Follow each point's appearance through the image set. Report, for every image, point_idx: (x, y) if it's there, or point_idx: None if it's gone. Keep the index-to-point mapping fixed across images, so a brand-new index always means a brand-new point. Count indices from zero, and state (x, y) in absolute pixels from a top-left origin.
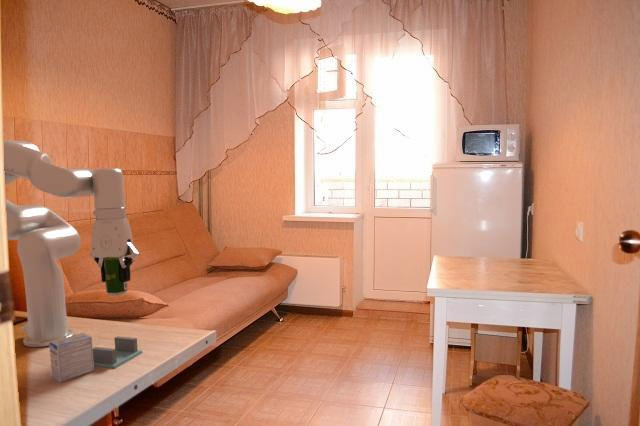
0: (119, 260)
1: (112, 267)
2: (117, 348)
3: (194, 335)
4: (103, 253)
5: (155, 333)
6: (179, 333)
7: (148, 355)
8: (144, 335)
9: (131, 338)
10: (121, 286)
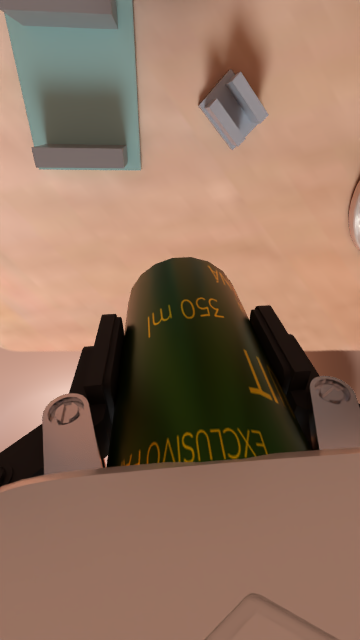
0: (97, 456)
1: (159, 368)
2: (116, 145)
3: (17, 320)
4: (301, 512)
5: None
6: (68, 323)
7: (3, 152)
8: None
9: (52, 158)
10: (129, 306)
